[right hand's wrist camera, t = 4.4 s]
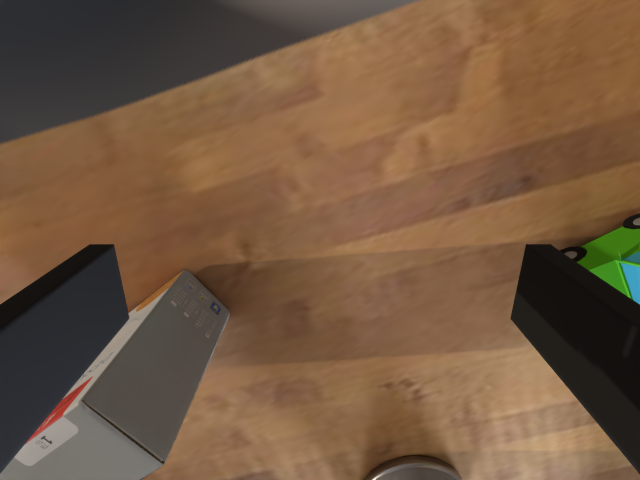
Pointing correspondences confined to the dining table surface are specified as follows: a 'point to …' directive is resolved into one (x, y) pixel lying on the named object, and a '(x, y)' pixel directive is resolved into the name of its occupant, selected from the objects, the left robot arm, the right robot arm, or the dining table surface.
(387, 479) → the right robot arm
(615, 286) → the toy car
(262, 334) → the dining table surface
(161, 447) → the hard drive box
